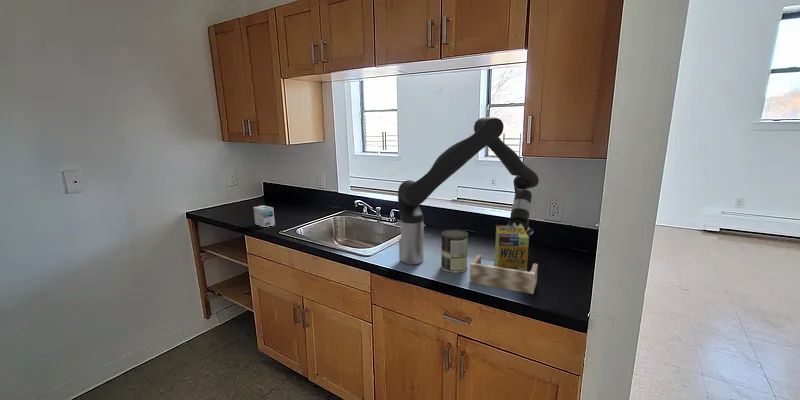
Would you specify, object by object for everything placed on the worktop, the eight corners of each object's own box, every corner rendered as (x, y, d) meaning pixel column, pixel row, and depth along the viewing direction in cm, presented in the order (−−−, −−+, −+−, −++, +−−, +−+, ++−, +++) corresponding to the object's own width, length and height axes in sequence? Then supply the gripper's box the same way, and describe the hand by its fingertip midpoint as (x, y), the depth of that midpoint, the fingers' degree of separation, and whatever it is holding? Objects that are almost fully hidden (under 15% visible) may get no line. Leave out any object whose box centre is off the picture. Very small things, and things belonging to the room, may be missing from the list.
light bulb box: (275, 225, 206) (273, 207, 204) (264, 228, 201) (262, 209, 199) (265, 222, 213) (263, 204, 210) (254, 225, 208) (252, 207, 205)
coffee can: (437, 270, 141) (437, 235, 138) (445, 261, 150) (446, 228, 147) (463, 274, 137) (464, 238, 134) (470, 264, 146) (471, 231, 143)
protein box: (497, 276, 135) (499, 236, 132) (494, 260, 150) (496, 224, 146) (527, 278, 133) (529, 237, 130) (521, 262, 148) (523, 225, 145)
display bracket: (469, 282, 131) (470, 264, 129) (476, 272, 139) (477, 255, 137) (533, 294, 121) (534, 274, 120) (536, 282, 129) (537, 263, 128)
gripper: (503, 206, 156) (496, 242, 148) (536, 209, 150) (530, 246, 142) (505, 215, 162) (498, 250, 154) (537, 218, 156) (531, 255, 148)
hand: (514, 248), depth 148 cm, fingers closed
